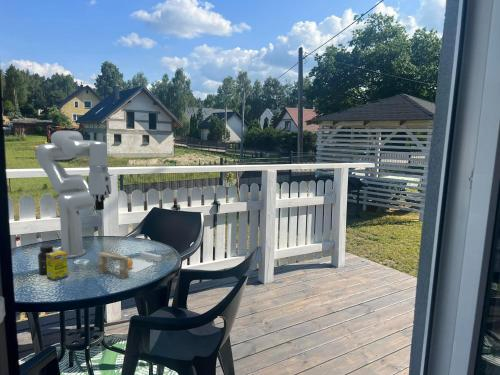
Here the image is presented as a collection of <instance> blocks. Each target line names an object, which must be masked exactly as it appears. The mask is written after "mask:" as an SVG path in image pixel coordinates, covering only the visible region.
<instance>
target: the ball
mask: <svg viewBox="0 0 500 375" xmlns="http://www.w3.org/2000/svg"><path fill="white" fill-rule="evenodd" d="M132 260H133V259H132V258H130V257H128V269H130V268H131V267H132V265H133V261H132Z"/></svg>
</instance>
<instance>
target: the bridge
mask: <svg viewBox="0 0 500 375" xmlns="http://www.w3.org/2000/svg"><path fill="white" fill-rule="evenodd" d="M97 257H98V273H99V274H104V273H107V272H108V259H112V260H116V261H119V262H118V263H119V264H118V265H119V266H120V269H119V279H121V280H124V279H126V278H129V271H128V258H129V256H128V255H122V254H120V253H115V252H109V251H106V250H103V251H100V252H98V256H97Z"/></svg>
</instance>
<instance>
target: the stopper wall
mask: <svg viewBox="0 0 500 375" xmlns="http://www.w3.org/2000/svg"><path fill="white" fill-rule="evenodd" d="M139 254H140V257H139V258H140V259H144V260H150V261H153V262H154V261H155V262H159V263H160V262H162V260H163V259H162V258H163V257H162V256H163V255H160V254H156V253H155V254H154V253H152V252H151V253H150V252H146V251H141V252H140V253H139Z"/></svg>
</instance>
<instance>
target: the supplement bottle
mask: <svg viewBox="0 0 500 375" xmlns="http://www.w3.org/2000/svg"><path fill="white" fill-rule="evenodd" d="M53 247H54V246H53V245H52V244H45V245H41V246H40V247H39V253H38V254H37V263H38V274H39V275H40V276H47V262H46V253H51V252H54V251H52V250H53Z"/></svg>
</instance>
